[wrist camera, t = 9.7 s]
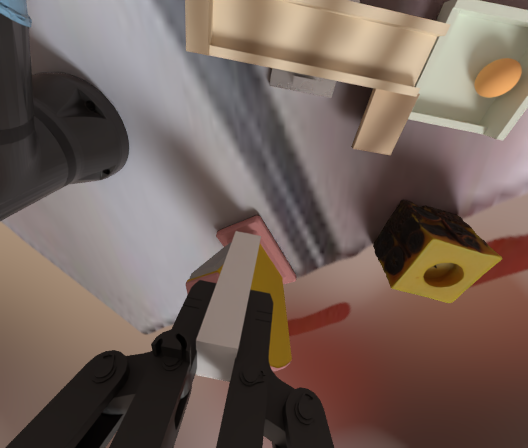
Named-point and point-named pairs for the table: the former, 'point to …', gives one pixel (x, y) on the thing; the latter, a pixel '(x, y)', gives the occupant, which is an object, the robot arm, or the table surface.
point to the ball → (498, 77)
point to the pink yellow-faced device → (258, 281)
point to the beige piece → (325, 50)
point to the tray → (473, 69)
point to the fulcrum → (303, 81)
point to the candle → (432, 252)
